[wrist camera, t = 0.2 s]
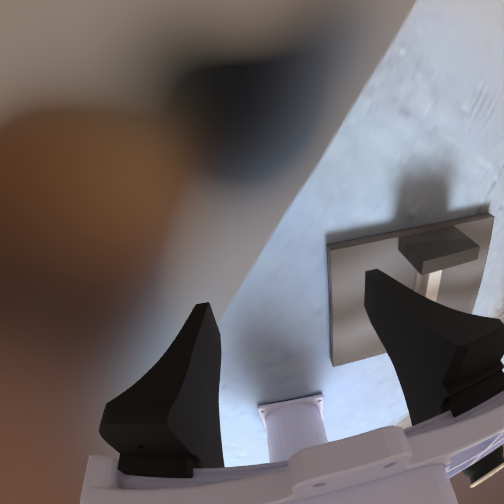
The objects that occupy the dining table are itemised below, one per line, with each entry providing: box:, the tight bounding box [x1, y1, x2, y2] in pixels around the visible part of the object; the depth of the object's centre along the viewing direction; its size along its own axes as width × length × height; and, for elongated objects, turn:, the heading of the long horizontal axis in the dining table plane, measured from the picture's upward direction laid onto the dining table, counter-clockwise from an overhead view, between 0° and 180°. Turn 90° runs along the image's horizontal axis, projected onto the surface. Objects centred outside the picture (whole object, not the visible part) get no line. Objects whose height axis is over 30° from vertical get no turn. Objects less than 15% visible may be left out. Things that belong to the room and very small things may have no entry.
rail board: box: [327, 213, 494, 367], centre depth 24 cm, size 14×18×5 cm
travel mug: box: [462, 445, 504, 487], centre depth 33 cm, size 8×8×18 cm
